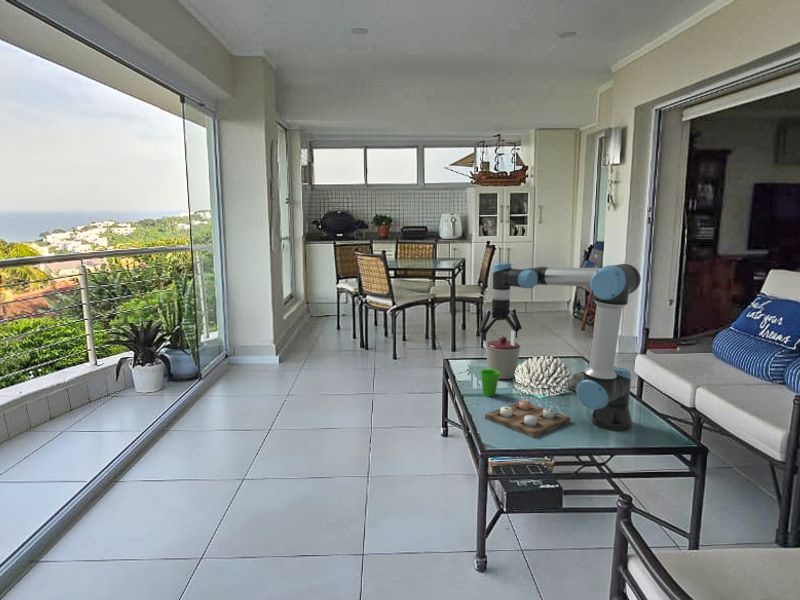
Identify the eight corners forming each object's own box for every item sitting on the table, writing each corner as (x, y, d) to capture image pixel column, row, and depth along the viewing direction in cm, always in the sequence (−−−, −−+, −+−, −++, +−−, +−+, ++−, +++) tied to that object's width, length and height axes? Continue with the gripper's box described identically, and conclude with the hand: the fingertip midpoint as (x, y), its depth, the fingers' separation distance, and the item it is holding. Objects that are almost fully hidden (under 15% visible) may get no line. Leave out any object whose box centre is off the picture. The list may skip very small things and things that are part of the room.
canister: (479, 372, 284) (480, 333, 280) (511, 370, 287) (513, 331, 284) (490, 383, 266) (492, 341, 263) (525, 381, 270) (527, 340, 266)
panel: (570, 422, 218) (570, 417, 218) (533, 437, 203) (533, 432, 203) (522, 405, 237) (522, 401, 236) (484, 418, 222) (485, 413, 221)
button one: (514, 416, 220) (514, 408, 220) (506, 418, 217) (507, 411, 217) (505, 412, 224) (505, 405, 223) (497, 415, 221) (497, 407, 220)
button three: (532, 409, 228) (533, 402, 227) (525, 411, 225) (526, 404, 224) (523, 406, 231) (524, 398, 231) (516, 408, 228) (516, 401, 228)
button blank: (539, 425, 211) (539, 417, 211) (531, 428, 208) (531, 420, 208) (529, 421, 215) (529, 414, 214) (521, 424, 212) (521, 417, 211)
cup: (500, 398, 245) (501, 375, 243) (480, 398, 245) (481, 374, 244) (497, 391, 254) (498, 369, 252) (478, 391, 254) (478, 368, 253)
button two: (557, 417, 219) (557, 410, 218) (550, 420, 216) (550, 413, 215) (547, 414, 222) (547, 406, 222) (540, 417, 219) (540, 409, 219)
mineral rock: (562, 387, 261) (563, 367, 259) (582, 385, 264) (583, 365, 262) (577, 396, 249) (579, 375, 247) (598, 394, 251) (599, 373, 250)
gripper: (521, 295, 241) (519, 342, 245) (471, 298, 233) (469, 346, 237) (530, 298, 234) (528, 346, 238) (479, 301, 226) (477, 350, 230)
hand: (499, 346), depth 237 cm, fingers open, 13 cm apart
